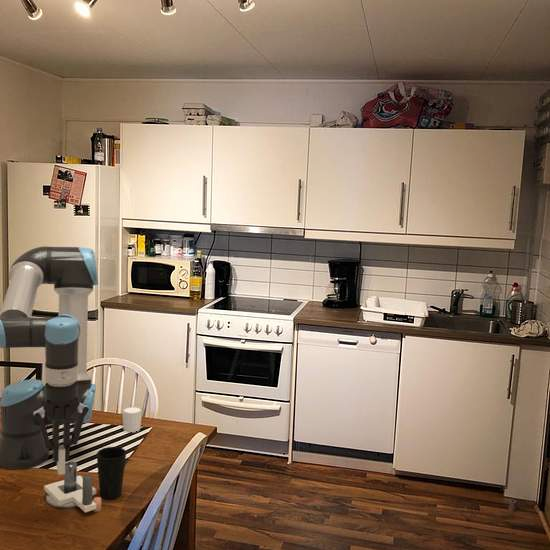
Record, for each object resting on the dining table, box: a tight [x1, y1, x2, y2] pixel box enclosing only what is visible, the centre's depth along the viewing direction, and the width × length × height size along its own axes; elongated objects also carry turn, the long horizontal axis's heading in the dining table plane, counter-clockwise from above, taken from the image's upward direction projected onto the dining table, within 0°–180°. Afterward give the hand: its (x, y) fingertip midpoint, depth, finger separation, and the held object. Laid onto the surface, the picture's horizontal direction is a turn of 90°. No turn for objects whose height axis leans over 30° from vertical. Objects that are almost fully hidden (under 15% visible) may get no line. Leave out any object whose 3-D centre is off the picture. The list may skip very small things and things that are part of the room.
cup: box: [96, 446, 127, 501], centre depth 162 cm, size 8×8×12 cm
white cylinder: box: [121, 406, 143, 433], centre depth 207 cm, size 7×7×7 cm
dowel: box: [92, 496, 102, 513], centre depth 155 cm, size 2×2×3 cm
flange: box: [43, 474, 97, 513], centre depth 158 cm, size 17×10×8 cm, turn 43°
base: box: [45, 461, 94, 509], centre depth 160 cm, size 12×12×9 cm
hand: (61, 471), depth 150 cm, fingers closed
